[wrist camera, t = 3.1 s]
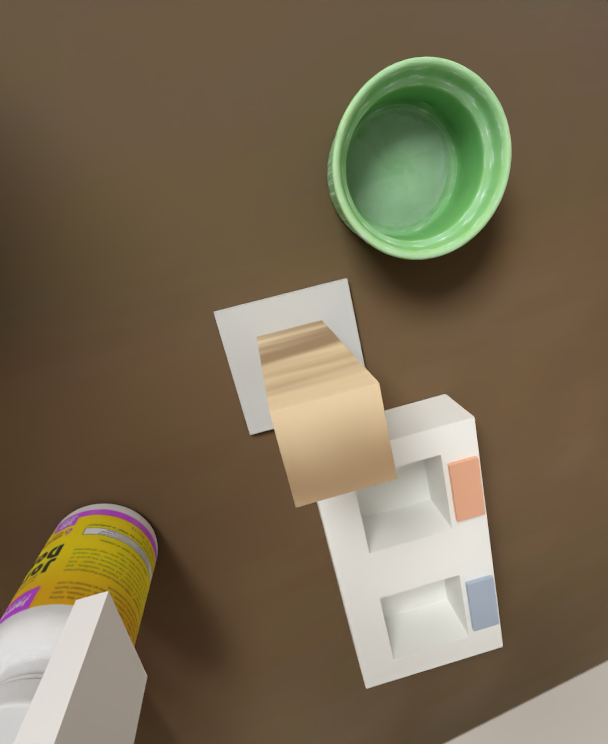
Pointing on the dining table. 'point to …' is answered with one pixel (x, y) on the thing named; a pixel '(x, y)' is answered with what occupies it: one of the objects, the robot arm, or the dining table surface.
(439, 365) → the dining table surface
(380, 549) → the socket board
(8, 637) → the supplement bottle
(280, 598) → the dining table surface
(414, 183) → the ramekin
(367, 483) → the oak peg
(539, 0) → the dining table surface
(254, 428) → the mat
